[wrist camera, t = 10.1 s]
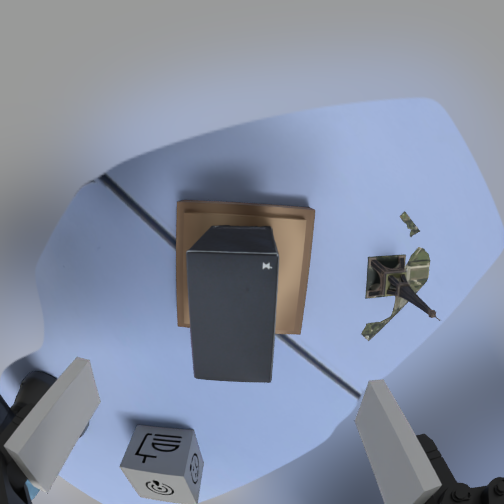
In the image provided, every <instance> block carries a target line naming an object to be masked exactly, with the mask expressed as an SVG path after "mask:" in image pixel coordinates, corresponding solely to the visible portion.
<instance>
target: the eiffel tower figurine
mask: <svg viewBox="0 0 504 504" xmlns="http://www.w3.org/2000/svg"><path fill="white" fill-rule="evenodd" d="M400 218H401V219H402V220H403V222H404V223H406V224H407V227H408V229H411V232H410V237H412V236H413V235H414V234H416V233H418V232H420V230H419V229H418V228H417V227H416V225H415V224H414V223H413V221H412V220H411V219H410V217H409V216H408V215H407V214H406V212H404V213H403V214H402V215H401V216H400ZM405 258H406V255H392V256H376V257H368V268H367V284H366V297H365V299H366V298H376V297H385V296H395V304H394V308H393V312H392V315H391V317H389V318H387V319H385V320H383V321H381V322H375V323H368V324H366V327H365V328H364V330H363V331H362V333H361V334H362V335H363V336H364V337H365V338H366V339H367V340H368V341H369V340H370V339H371V338H373V337H374V336H375V335H376V334H377V333H378V332H379V331H380V330H381V329H382V328H383V327H384V326H385V325H386V324H387V323H388V322H389V321H390V320H391V319H392V318H393V317H394V316H395V315H396V314H397V313H398V312H399V311H400V310H401V309H402V308H403V307H404V306H405V305H406V304H407V303H408V302H411V303H412V304H414V305H415V306H417V307H418V308H420V309H421V310H423V311H424V312H426V313H427V314H428V315H429V317H431V318H433V317H436V312H435V311H434V310H431V309H430V308H429V307H428V306H427V305H426V304H425V303H424V302H423V301H422V300H421V299H420V298H419V297H418V296H417V295H416V293H417V292H418V291H419V290H420V288H421V287H422V286H423V285H424V284H425V283H426V282H427V279H428V276H429V265H430V258H429V254H428V253H427V252H426V251H425V250H424V249H423V248H420V247H418V248H417V250H416V251H415V252H414V253H413V254H412V255H411V257H410V259H409V261H408V263H407V265H406V266H405ZM436 318H437V317H436ZM437 319H438V318H437ZM438 320H439V319H438ZM439 321H440V320H439Z"/></svg>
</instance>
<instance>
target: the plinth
mask: <svg viewBox="0 0 504 504" xmlns="http://www.w3.org/2000/svg"><path fill="white" fill-rule="evenodd" d="M314 219H315V210H314V209H312V208H310V207H298V206H285V205H272V204H257V203H240V202H222V201H200V200H182V201H178V202H177V223H176V287H177V319H178V326H179V327H188V328H190V318H189V303H188V286H187V266H186V251H187V250H189V249H190V248H191V247H192V246H193V245H194V244H195V243H196V242H197V241H198V240H199V239H200V238H201V236H202V235H203V234H204V233H205V232H206V231H207V230H208V229H209V228H210V227H211V226H218V225H230V226H258V227H261V226H270V227H271V228H272V229H273V235H274V240H275V242H276V246H277V250H278V253H279V275H278V293H277V308H276V327H275V334H301V327H302V320H303V313H304V306H305V299H306V291H307V283H308V275H309V267H310V258H311V249H312V239H313V229H314Z"/></svg>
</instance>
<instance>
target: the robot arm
mask: <svg viewBox="0 0 504 504" xmlns="http://www.w3.org/2000/svg"><path fill="white" fill-rule="evenodd" d="M100 402H101V401H100V397H99V394H98V390H97V387H96V383H95V380H94V376H93V372H92V368H91V364H90V360H87V359H83V358H79V357H77V358H76V359H75V360H74V361H73V362H72V363H71V364H70V365H69V367H68V368H67V369H66V370H65V371H64V372H63V373H62V375H61V376H60V377H59V378H58V379H55V378H54V377H52V376H50V375H48V374H45V373H43V372H38V371H34V372H31V373H29V374H28V375H27V376H26V377H25V378H24V379H23V381H22V382H21V385H20V390H19V391H18V394H17V396H16V399H15V402H14V404H13V406H12V407H11V408H10V407H9V406H8V404H7V403H6V402H5V400H4V399H3V397H2V396H1V395H0V504H32V502H31V500H32V499H34V498H35V496H36V495H37V493H38V492H39V491H40V490H41V491H43V492H45V493H47V494H48V492H49V490H50V489H51V487H52V485H53V483H54V481H55V479H56V478H57V476H58V474H59V472H60V470H61V469H62V467H63V465H64V463H65V461H66V460H67V458H68V456H69V454H70V453H71V451H72V449H73V447H74V446H75V444H76V442H77V441H78V439H79V438H80V437H81V436H82V435H83V434H84V433H85V431H86V429H87V428H88V426H89V420H90V419H91V417H92V415H93V414H94V412H95V410H96V409H97V407H98V406H99V404H100ZM355 424H356V426H357V429H358V431H359V434H360V437H361V439H362V442H363V445H364V448H365V450H366V453H367V456H368V458H369V461H370V464H371V466H372V469H373V472H374V475H375V477H376V480H377V483H378V486H379V489H380V492H381V495H382V497H383V500H384V503H385V504H504V478H502V477H498V478H495V479H493V480H492V481H491V482H490V483H489V484H488V485H487V486H482V487H475V488H470V487H469V486H468V485H466V484H464V483H457V481H456V480H455V478H454V477H453V475H452V473H451V471H450V469H449V468H448V466H447V464H446V462H445V461H444V459H443V457H441V454H440V452H439V451H438V450H437V447H436V445H435V443H434V442H433V440H431V439H430V438H429V437H428V436H427V435H425V434H421V435H417V436H416V435H415V434H414V432H413V430H412V428H411V426H410V425H409V423H408V421H407V419H406V418H405V416H404V414H403V412H402V411H401V409H400V407H399V405H398V404H397V402H396V400H395V399H394V397H393V395H392V394H391V392H390V390H389V388H388V387H387V385H386V383H385V382H384V380H372V381H369V382H368V385H367V388H366V391H365V394H364V397H363V400H362V402H361V405H360V408H359V411H358V414H357V416H356V419H355Z"/></svg>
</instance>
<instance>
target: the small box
mask: <svg viewBox="0 0 504 504" xmlns="http://www.w3.org/2000/svg"><path fill="white" fill-rule="evenodd" d="M186 266H187V286H188V303H189V318H190V333H191V346H192V358H193V370H194V377H195V378H197V379H205V380H216V381H235V382H267V383H270V382H271V380H272V368H273V354H274V341H275V327H276V308H277V293H278V275H279V253H278V250H277V246H276V242H275V240H274V235H273V229H272V228H271V227H270V226H261V227H258V226H230V225H218V226H211V227H210V228H209V229H208V230H207V231H206V232H205V233H204V234H203V235H202V236H201V238H200V239H199V240H198V241H197V242H196V243H195V244H194V245H193V246H192V247H191V248H190V249H189V250H187V251H186Z"/></svg>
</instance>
